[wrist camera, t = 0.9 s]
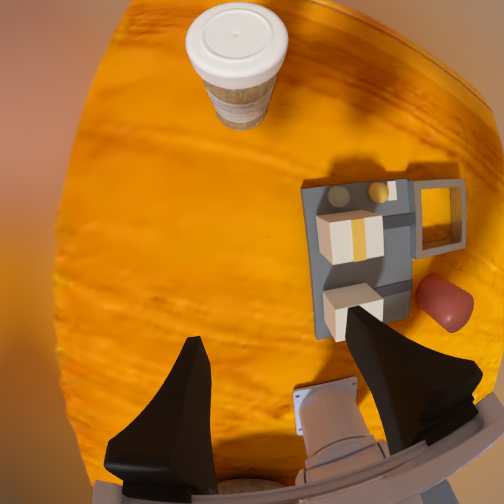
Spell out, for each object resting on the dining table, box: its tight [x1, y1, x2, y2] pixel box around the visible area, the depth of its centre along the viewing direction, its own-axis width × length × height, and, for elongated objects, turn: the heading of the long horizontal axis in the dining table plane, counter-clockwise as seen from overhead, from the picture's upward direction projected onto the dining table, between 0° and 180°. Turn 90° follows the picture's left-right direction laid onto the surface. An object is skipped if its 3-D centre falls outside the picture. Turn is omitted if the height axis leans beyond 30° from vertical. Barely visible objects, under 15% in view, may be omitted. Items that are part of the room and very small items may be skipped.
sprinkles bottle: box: [186, 2, 288, 131], centre depth 15 cm, size 5×5×13 cm
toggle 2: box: [323, 283, 384, 342], centre depth 23 cm, size 3×4×4 cm
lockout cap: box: [415, 274, 474, 333], centre depth 24 cm, size 4×4×6 cm
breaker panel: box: [301, 179, 412, 340], centre depth 25 cm, size 15×11×2 cm
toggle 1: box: [316, 210, 384, 265], centre depth 21 cm, size 3×4×4 cm
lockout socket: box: [407, 178, 466, 260], centre depth 23 cm, size 8×8×2 cm
